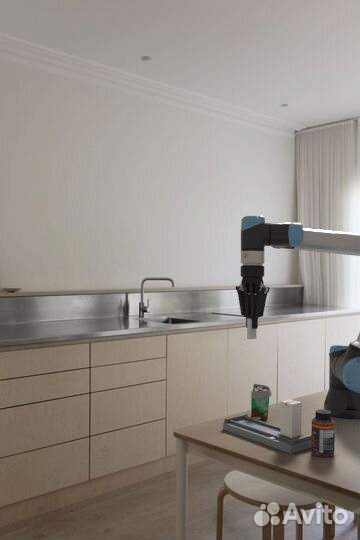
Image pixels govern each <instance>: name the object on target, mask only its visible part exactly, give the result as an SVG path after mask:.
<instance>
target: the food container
mask: <svg viewBox="0 0 360 540" xmlns="http://www.w3.org/2000/svg"><path fill="white" fill-rule="evenodd" d="M250 394H251V395H250V399H251V400H250V401H251V402H250V403H251V404H250V405H251V407H250V410H251V411H250V412H251V413H250V418H252V419H256V420H259V421H262V422H267V421H268V418H269V409H270V408H269V406H270V397H272V395H273V394H272V391H271V388H270V387H269V386H268V385H264V384H260V383H253V388H252V391H251V392H250Z"/></svg>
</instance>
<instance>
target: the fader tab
mask: <svg viewBox="0 0 360 540" xmlns="http://www.w3.org/2000/svg"><path fill="white" fill-rule="evenodd" d="M302 404H303V402H301V401H298V400H295V399H285V400H280V420H279V421H280V422H279V423H280V426H279V427H280V433H279V434H278V436H280V437H283V438H286V439H289V440H292V439H295V438H299V437H302V436H304V435H305V434H303V435H302V411H303V410H302V408H303V405H302Z"/></svg>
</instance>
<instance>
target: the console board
mask: <svg viewBox="0 0 360 540" xmlns="http://www.w3.org/2000/svg"><path fill="white" fill-rule="evenodd" d="M222 430H223V431H226V432H229V433H232V434H235V435H237V436H240V437H242V438H245V439H248V440H252V441H255V442H257V443H260V444H263V445H265V446H268V447H271V448H273V449H276V450H279V451H281V452H284V453H287V454H290V455H292V454H294V453H295V454H296V453H297V452H301V451H303V450H307V449H311V433H309V434H306V435H305V434H302V433H301V434H302V435H304V436H302V437H299V438H295V439H292V440H289V439H286V438H283V437H280V436H278V434H279V433H280V426H277V425H273V424H271V423H267V422H266V421H264V422H262V421H259V420H256V419H252V418H251V417H249V415H248V414H247V413H242V414H239V415H234V416H230V417H225V418H224V419H223V423H222Z"/></svg>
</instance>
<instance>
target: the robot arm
mask: <svg viewBox="0 0 360 540" xmlns="http://www.w3.org/2000/svg"><path fill="white" fill-rule="evenodd" d="M240 223H241V224H240V264H242V265H240V277H241V281H240V284H239V285H236V286H235V290H236V293H237V296H238V302H239V303H238V304H239V310H240V315H241V316H244V317H245V328H246V339H247V340H257V330H258V327H259V326H258V325H259V323H258V322H259V318H263V317H264V312H265V307H266V304H267V303H266V302H267V297H268V294H269V292H270V289H271V288H270V287H269V286H266V285H265V284H264V283H265V282H264V280H263V278H264V277H265V266H264V264H265V247H271V248H273V249H278V250H280V249H286V250H295V251H306V252H317V253H325V254H326V253H327V254H335V255H336V254H337V255H345V256H354V257H360V233H356V232H355V233H354V232H347V231H345V232H344V231H336V230H335V231H334V230H333V231H332V230H326V229H325V230H324V229H315V228H314V229H312V228H304V226H303V224H302V223H301V222H293V221H291V222H266V218H265V217H264V216H263V215H246V216H243V217H242V218H241V222H240ZM356 337H357V338H356V339H355V340H353V341H351V342H349V344H347V345H343V344H332V345H331V346H330V348H329V353H328V356H329V359H328V360H329V364H328V365H329V370H328V371H329V372H328V375H329V376H328V379H329V380H328V390H327V394H326V397H325V399H324V403H323V409H325V410H329V411H331V417H332V416H333V417H337V418H343V419H360V332H359V333H358V335H357V336H356Z"/></svg>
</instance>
